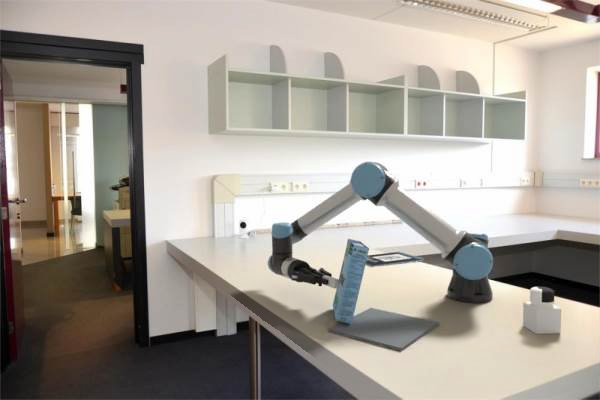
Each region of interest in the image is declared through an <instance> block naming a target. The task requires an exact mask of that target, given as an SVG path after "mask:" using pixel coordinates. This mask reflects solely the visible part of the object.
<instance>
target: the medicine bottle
mask: <svg viewBox="0 0 600 400" xmlns="http://www.w3.org/2000/svg"><path fill="white" fill-rule="evenodd" d="M529 298H530V299H529V301H523V303H522V304H523V306H522V308H523V310H522V325H523V327H525V328H527V329H528V330H530V331H531V332H532V333H534V334H536V335H548V334H549V335H550V334H551V335H552V334H555V335H556V334H561V332H562V329H561V328H562V308H560V307H559V306H557V305H555V290H554V289H552V288H549V287H547V286H533V287H531V288H530V289H529Z"/></svg>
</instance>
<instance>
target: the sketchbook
mask: <svg viewBox="0 0 600 400" xmlns="http://www.w3.org/2000/svg"><path fill="white" fill-rule="evenodd" d="M416 261H417V262H416ZM410 262H412V263H420V262H424V258H423V257H418V256H416V255H413V254H409V253H405V252H403V251H395V252H385V253H378V254H377V253H376V254H368V256H367V260H366V264H365V266H369V267H371V268H374V267H375V266H377V267H383V266H384V265H385V266H392V265H393V264H394V265H401V264H402V263H403V264H409V263H410ZM410 264H411V263H410ZM375 268H376V267H375Z"/></svg>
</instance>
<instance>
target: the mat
mask: <svg viewBox="0 0 600 400" xmlns="http://www.w3.org/2000/svg"><path fill="white" fill-rule="evenodd" d="M438 326H439V321H434V320H429V319H425V318H420V317H416V316H411V315H406V314H401V313H397V312H391V311H387V310H382V309H377V308H374V307H370V308H368V309H365V310H363V311H361V312H359V313H357V314H354V316H353V320H352V324H349V323H344V322H341V321H340V322H338V323H337V324H335V325H332V326H331V327H329V328H327V332H329V333H333V334H336V335H340V336H343V337H347V338H352V339H354V340H358V341H362V342H366V343H369V344H373V345H377V346H380V347H384V348H389V349H391V350H395V351H400V352H403V351H404V350H405V349H407V348H408V347H410V346H411V345H413V344H414V343H416V341H417V342H418V340H420V339H421V338H423V337H424V336H425V335H427V334H428V333H429V332H431V331H432V330H433V329H435V328H436V327H438Z"/></svg>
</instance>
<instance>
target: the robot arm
mask: <svg viewBox="0 0 600 400" xmlns="http://www.w3.org/2000/svg"><path fill="white" fill-rule="evenodd" d="M366 200H368V201H369V202H370V203H372V204H373V205H374V206H376V207H384V208H385V209H387V210H388V211H389V212H390V213H391V214H393V215H394V216H395V217H397V218H399V220H401V221H402V222H403V223H405V224H406V225H407V226H408V227H410V229H412V230H413V231H414V232H416V233H418V235H420V237H422V238H423V239H425V240H426V241H427V242H429V243H430V244H431V245H432V246H434V247H435V248H436V249H437V250H438V251H440V256H441V258H442V259H443V260H444V261H445V262H447V263H448V264H449V265H451V267H452V276H451V278H450V281H449V284H448V286H447V291H446V292H447V294H446V295H447V296H446V297H448V298H450V299H451V300H455V301H459V302H463V303H473V304H477V303H481V304H482V303H488V302H491V301H493V296H494V295H493V290H492V287H491V284H490V281H489V277H488V275H489V274H490V272H491V270H492V268H493V265H494V256H493V254H492V252H491V251H490V249H489V242H490V241H489V237H488V234H486V233H477V232H475V233H471V232H469V233H468V232H467V231H466V230H457V229H456V228H454V227H453V226H452V225H450V224H449V223H448V222H447V221H446V220H444V219H443V218H441V217H440V216H439V215H438V214H436V212H433V211H432V210H431V209H430V208H428V207H427V206H426V205H424V204H423V203H422V202H420V201H419V200H418V199H417V198H415V197H414V196H413V195H411V194H410V193H409V192H408V191H406V190H405V189H404V188H402V187H401V186H400V183H399V179H398V178H397V177H396V176H394V175H393V174H391V173H390V171H388V169H387V168H386V166H385V165H383V164H381V163H380V162H373V161H365V162H362V163H360V164H358V165H357V166H356V167H355V168H354V170H353V171H352V173H351V177H350V180H349V183H348V184H347V185H345V186H344V187H342V188H341V189H339V190H338V191H336V192H335V193H333V194H332V195H331V196H329V197H327V198H326V199H325V200H324V201H321V203H319V204H318V205H316V206H314V207H313V208H312V209H310V210H309V211H307V212H305V214H303V215H302V216H300V217H299V218H297V219H296V220H294V221H293V222H291V223H290V222H277V223H273V224H272V226H271V244H272V245H271V247H272V249H271V250H272V251H271V253H272V254H271V255H270V256H269V258H268V260H267V266H268V269H269V271H271V272H272V273H274V274H276V275H278V276H281V277H285V278H287V279H290V280H291V281H293V282H294V281H295V282H297V283H305V284H310V285H315V286H316V285H317V284H318V287H323V285H324V286H327V287H329V288H332V289H335V290H336V289H337V288H339V278H335V277H333V276H332V275H333V274H332V273H331V272H329V271H327V270H325V268H324V267H320V268H318V269H316V268H313V267H311V265H310V264H309V262H307V261H305V260H300V259H299V258H295V257H293V245H294V244H296V243H299V242H301V241H303V240H304V239H305V238H306V237H307V236H308V235H310V234H312V233H313V232H315V231H316V230H318V229H319V228H321V227H322V226H324V225H325V224H326V223H327V224H328V222H330V221H331V220H332V219H334V218H336V217H337V216H339V215H340V214H342V213H343V212H345V211H346V210H348V209H349V208H351V207H352V206H354V205H356V204H358V202H360V201H366Z"/></svg>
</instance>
